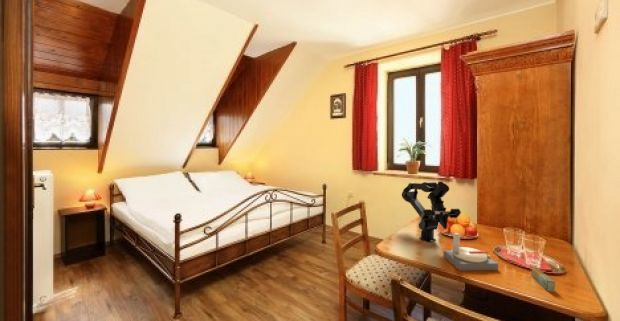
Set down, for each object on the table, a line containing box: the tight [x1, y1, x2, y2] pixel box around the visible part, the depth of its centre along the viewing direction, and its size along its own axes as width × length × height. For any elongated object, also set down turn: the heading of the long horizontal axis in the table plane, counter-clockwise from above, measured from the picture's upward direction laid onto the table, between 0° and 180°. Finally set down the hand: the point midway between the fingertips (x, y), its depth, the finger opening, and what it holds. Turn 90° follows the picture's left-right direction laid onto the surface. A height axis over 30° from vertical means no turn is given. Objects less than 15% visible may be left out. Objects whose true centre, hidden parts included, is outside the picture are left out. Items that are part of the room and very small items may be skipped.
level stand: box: [443, 249, 499, 271], centre depth 131 cm, size 17×15×4 cm
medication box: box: [530, 267, 556, 293], centre depth 112 cm, size 12×3×4 cm, turn 166°
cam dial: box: [452, 232, 489, 263], centre depth 131 cm, size 16×14×11 cm
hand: (445, 228), depth 142 cm, fingers closed
